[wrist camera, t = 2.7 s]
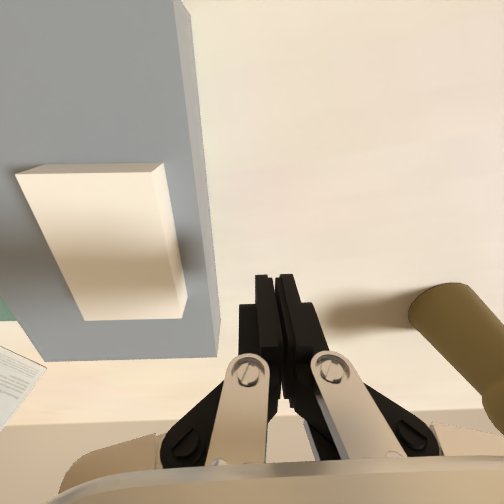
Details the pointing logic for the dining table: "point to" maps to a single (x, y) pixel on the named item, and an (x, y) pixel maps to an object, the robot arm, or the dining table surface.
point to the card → (111, 237)
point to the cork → (465, 340)
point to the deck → (102, 160)
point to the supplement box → (15, 382)
